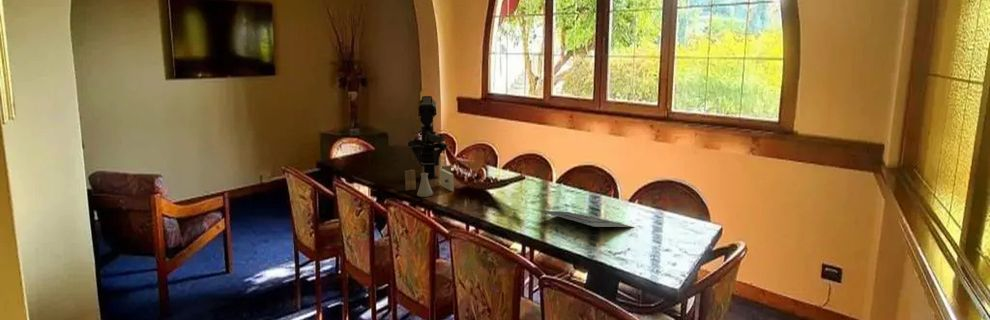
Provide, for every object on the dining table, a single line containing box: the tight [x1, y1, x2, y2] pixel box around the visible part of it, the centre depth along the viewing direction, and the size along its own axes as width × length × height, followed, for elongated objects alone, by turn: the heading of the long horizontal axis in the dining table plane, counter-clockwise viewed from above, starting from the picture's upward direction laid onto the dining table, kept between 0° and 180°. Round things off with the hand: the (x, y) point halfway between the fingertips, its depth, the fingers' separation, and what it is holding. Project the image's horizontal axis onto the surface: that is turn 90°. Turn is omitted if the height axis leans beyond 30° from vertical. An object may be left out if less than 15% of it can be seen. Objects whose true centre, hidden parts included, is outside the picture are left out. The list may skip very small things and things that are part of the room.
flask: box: [416, 172, 434, 198], centre depth 275 cm, size 7×7×10 cm
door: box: [439, 168, 455, 192], centre depth 286 cm, size 12×3×8 cm, turn 28°
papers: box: [540, 210, 633, 228], centre depth 235 cm, size 24×30×4 cm
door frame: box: [404, 164, 453, 191], centre depth 289 cm, size 2×23×9 cm, turn 118°
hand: (428, 163), depth 284 cm, fingers open, 9 cm apart
